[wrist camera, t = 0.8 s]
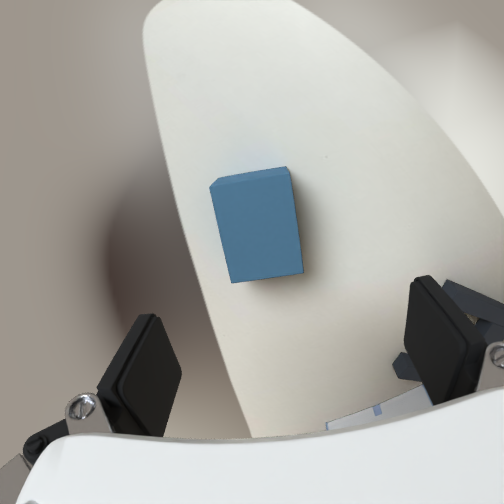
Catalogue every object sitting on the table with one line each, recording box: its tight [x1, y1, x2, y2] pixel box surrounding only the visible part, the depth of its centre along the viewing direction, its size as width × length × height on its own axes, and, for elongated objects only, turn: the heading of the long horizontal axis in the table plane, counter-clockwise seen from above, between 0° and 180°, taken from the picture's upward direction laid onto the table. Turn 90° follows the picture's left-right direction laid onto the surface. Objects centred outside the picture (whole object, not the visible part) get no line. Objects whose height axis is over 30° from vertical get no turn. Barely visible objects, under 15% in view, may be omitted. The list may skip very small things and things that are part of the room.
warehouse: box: [326, 384, 433, 430], centre depth 36 cm, size 30×14×8 cm, turn 27°
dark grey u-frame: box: [392, 279, 504, 382], centre depth 28 cm, size 12×14×2 cm
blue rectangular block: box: [209, 166, 304, 283], centre depth 24 cm, size 6×8×4 cm
